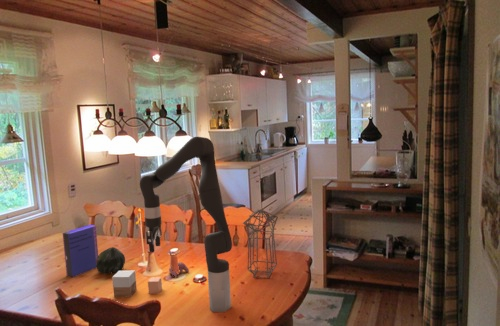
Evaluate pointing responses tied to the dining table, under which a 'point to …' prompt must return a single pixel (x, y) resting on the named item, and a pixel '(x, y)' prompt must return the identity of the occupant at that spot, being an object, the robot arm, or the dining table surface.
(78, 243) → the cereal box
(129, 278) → the tower top
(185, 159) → the robot arm
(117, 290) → the tower bottom
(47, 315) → the dining table surface
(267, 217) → the geometric lantern
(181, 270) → the video game controller
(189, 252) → the dining table surface
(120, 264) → the squash
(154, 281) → the beige block
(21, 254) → the dining table surface
